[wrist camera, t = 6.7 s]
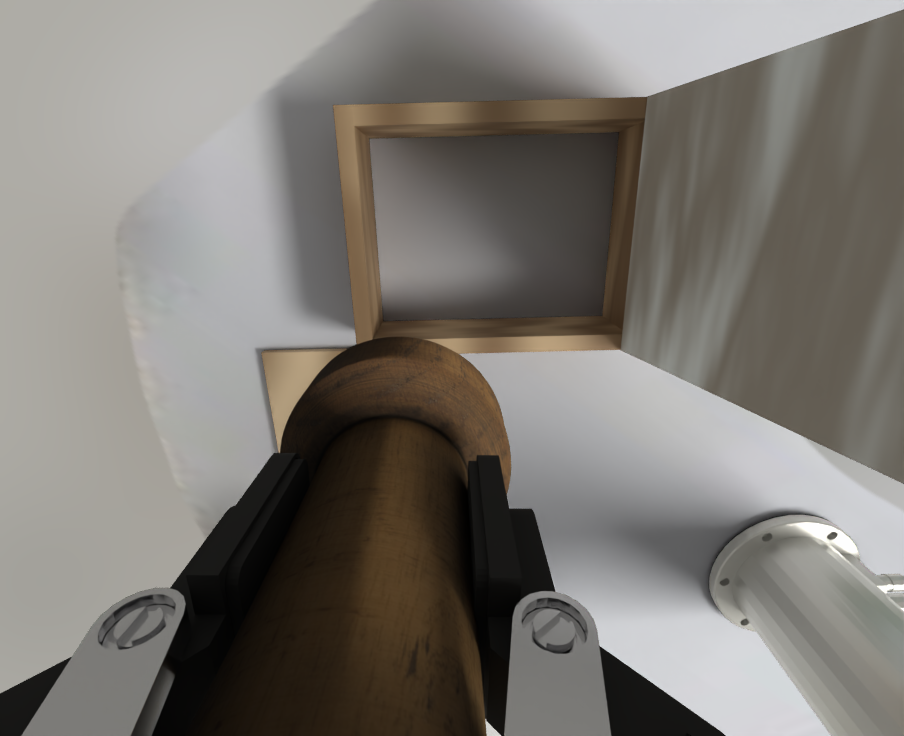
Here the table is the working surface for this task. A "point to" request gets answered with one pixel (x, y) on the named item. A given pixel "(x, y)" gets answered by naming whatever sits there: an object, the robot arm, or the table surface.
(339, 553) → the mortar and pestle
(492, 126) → the cold frame
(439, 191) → the table surface
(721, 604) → the robot arm
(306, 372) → the cork mat
